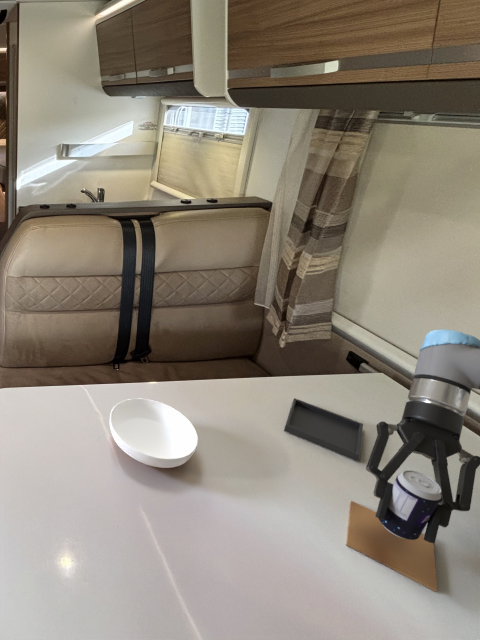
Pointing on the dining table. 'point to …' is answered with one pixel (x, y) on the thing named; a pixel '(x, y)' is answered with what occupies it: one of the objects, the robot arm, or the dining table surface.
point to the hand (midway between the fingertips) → (403, 529)
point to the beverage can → (411, 504)
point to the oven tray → (325, 429)
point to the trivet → (391, 547)
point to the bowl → (153, 432)
